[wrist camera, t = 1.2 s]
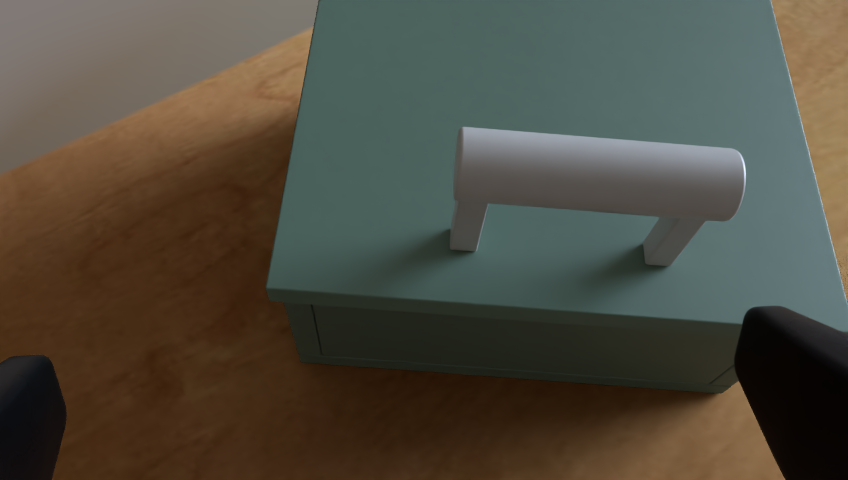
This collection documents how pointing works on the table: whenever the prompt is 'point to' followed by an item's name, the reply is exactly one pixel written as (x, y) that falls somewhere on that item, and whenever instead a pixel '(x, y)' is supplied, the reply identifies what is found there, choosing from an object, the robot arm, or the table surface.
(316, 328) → the bin
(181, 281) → the table surface
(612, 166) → the bin lid
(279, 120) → the table surface
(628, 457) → the table surface
